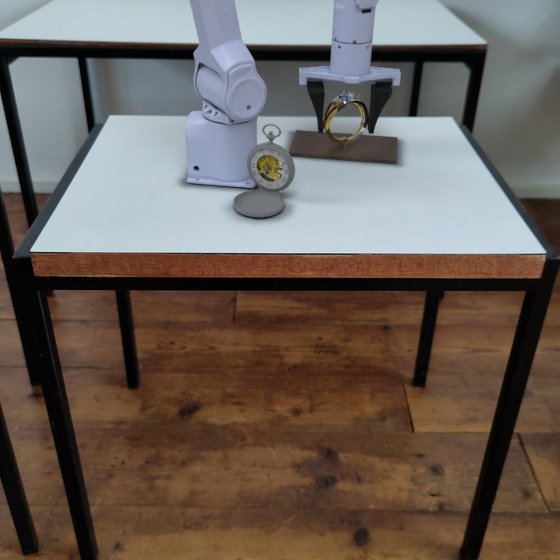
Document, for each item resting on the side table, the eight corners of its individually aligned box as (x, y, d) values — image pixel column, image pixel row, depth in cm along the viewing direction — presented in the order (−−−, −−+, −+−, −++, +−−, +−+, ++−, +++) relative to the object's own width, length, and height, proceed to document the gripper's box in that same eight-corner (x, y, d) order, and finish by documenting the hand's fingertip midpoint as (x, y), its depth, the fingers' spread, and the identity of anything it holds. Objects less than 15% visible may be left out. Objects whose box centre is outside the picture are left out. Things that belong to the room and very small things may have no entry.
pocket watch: (236, 221, 86) (234, 146, 81) (229, 191, 93) (227, 120, 88) (300, 217, 87) (303, 143, 82) (289, 188, 94) (291, 117, 89)
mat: (288, 155, 103) (288, 152, 103) (296, 133, 111) (296, 129, 110) (396, 164, 101) (397, 160, 101) (397, 140, 109) (397, 137, 109)
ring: (361, 138, 108) (366, 87, 103) (369, 146, 105) (374, 94, 101) (319, 142, 106) (321, 91, 102) (326, 150, 104) (328, 98, 99)
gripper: (301, 46, 93) (298, 140, 101) (408, 47, 94) (397, 141, 101) (299, 32, 99) (296, 123, 107) (399, 33, 100) (390, 123, 107)
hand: (345, 131), depth 105 cm, fingers closed on ring, 7 cm apart
